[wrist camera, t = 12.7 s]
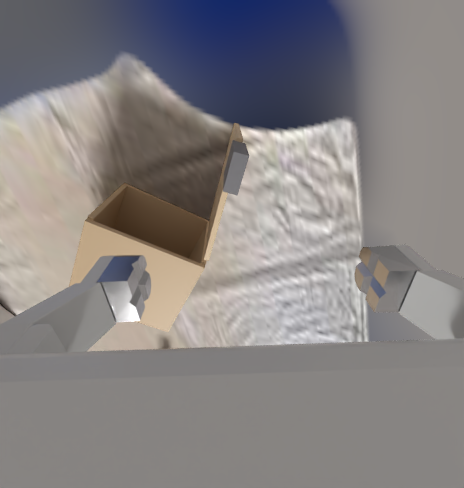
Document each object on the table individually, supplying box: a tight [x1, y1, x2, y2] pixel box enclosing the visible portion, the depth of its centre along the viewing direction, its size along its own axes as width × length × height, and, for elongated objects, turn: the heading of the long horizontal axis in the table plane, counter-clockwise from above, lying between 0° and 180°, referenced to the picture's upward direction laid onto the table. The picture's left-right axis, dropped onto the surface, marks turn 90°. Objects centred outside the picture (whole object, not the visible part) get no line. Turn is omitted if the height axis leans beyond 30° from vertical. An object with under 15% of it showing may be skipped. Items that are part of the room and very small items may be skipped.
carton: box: [69, 183, 209, 332], centre depth 37 cm, size 14×13×12 cm
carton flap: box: [204, 123, 249, 261], centre depth 29 cm, size 14×1×17 cm, turn 164°
